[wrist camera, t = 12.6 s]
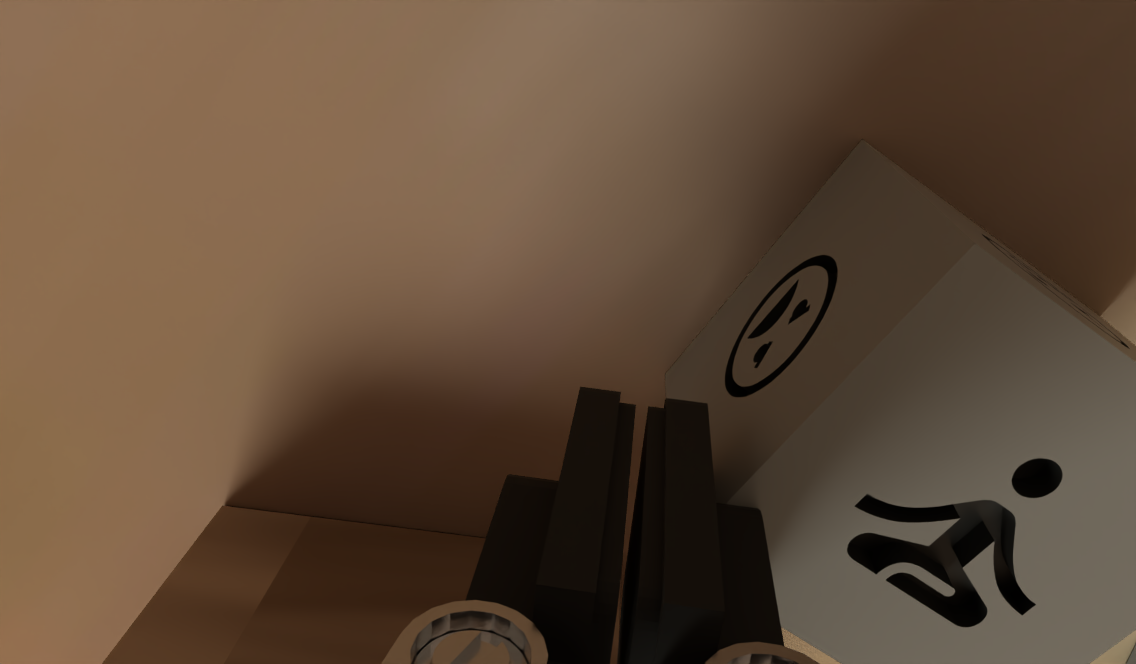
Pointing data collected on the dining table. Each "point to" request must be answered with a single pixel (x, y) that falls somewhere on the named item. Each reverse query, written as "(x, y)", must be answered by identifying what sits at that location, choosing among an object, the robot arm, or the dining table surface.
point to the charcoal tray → (1132, 657)
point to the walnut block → (299, 592)
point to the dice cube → (923, 435)
